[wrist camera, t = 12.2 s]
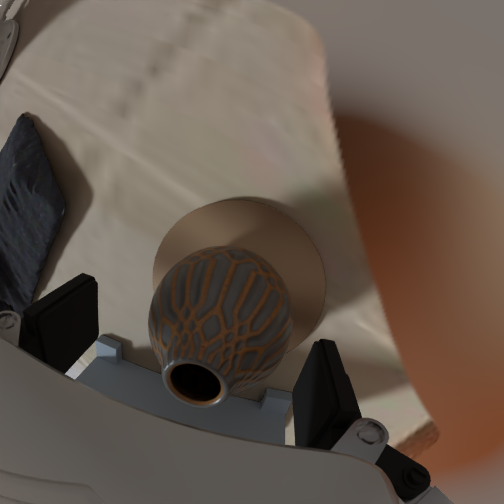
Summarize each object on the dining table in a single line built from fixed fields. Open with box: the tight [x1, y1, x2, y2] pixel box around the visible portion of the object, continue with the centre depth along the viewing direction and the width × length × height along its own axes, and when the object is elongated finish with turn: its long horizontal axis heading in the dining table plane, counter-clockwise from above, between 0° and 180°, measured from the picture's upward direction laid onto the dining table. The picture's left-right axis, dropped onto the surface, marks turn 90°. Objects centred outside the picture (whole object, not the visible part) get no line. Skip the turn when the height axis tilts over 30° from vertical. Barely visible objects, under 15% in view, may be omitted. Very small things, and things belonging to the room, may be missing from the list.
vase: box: [148, 246, 293, 408], centre depth 13 cm, size 7×7×9 cm
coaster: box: [153, 200, 326, 353], centre depth 17 cm, size 11×11×1 cm
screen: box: [75, 335, 292, 445], centre depth 14 cm, size 5×16×12 cm, turn 76°
